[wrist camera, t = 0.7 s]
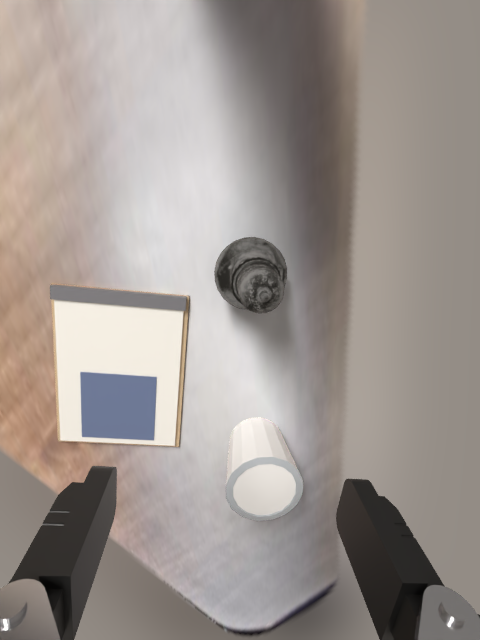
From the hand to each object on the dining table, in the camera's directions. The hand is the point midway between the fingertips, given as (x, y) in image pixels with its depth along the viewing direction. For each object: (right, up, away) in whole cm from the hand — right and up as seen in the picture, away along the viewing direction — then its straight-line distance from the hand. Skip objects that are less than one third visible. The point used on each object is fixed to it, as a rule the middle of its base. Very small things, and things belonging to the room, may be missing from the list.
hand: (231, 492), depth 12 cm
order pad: (-11, +1, +21) cm, 24 cm away
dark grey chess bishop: (+1, +11, +19) cm, 22 cm away
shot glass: (+2, -7, +24) cm, 25 cm away
